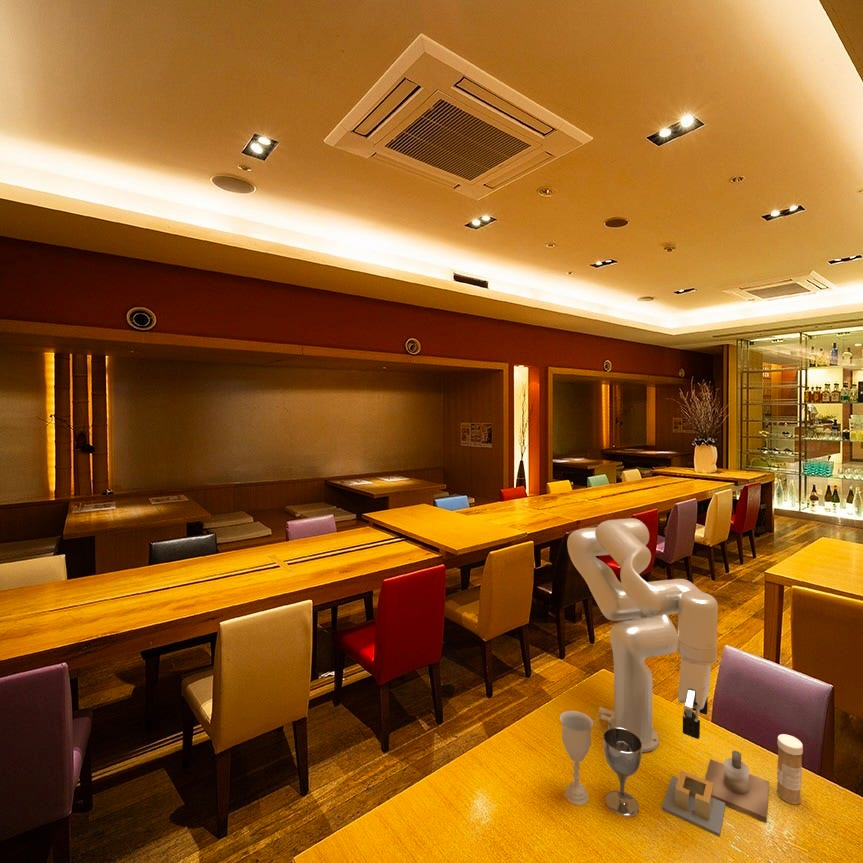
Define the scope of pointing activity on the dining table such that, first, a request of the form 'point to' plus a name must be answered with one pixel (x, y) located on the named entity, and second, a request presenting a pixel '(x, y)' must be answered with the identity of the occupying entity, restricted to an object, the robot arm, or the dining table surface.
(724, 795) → the stand
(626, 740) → the wine glass
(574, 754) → the chalice
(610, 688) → the dining table surface
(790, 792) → the sprinkles bottle
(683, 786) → the c link
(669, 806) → the mat
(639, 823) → the dining table surface
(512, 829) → the dining table surface
